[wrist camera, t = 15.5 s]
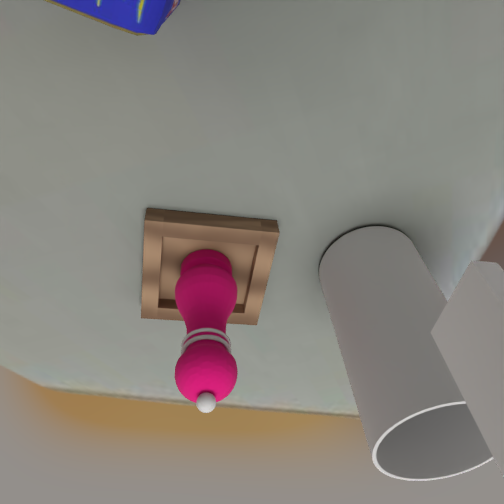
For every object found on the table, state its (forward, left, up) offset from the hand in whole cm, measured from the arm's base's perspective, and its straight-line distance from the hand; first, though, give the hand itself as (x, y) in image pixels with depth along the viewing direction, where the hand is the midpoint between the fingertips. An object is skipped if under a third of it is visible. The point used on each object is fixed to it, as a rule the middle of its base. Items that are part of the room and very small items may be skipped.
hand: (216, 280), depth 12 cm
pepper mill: (+29, +3, -36) cm, 46 cm away
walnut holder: (+29, +3, -37) cm, 47 cm away
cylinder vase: (+27, +23, -37) cm, 51 cm away
